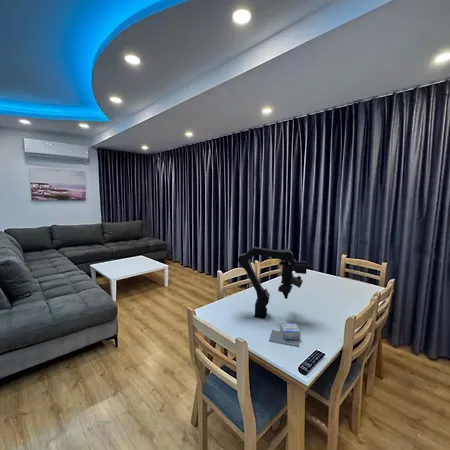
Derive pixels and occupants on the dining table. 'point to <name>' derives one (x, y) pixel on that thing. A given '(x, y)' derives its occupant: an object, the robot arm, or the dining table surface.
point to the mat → (282, 339)
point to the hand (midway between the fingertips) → (286, 298)
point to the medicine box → (290, 331)
